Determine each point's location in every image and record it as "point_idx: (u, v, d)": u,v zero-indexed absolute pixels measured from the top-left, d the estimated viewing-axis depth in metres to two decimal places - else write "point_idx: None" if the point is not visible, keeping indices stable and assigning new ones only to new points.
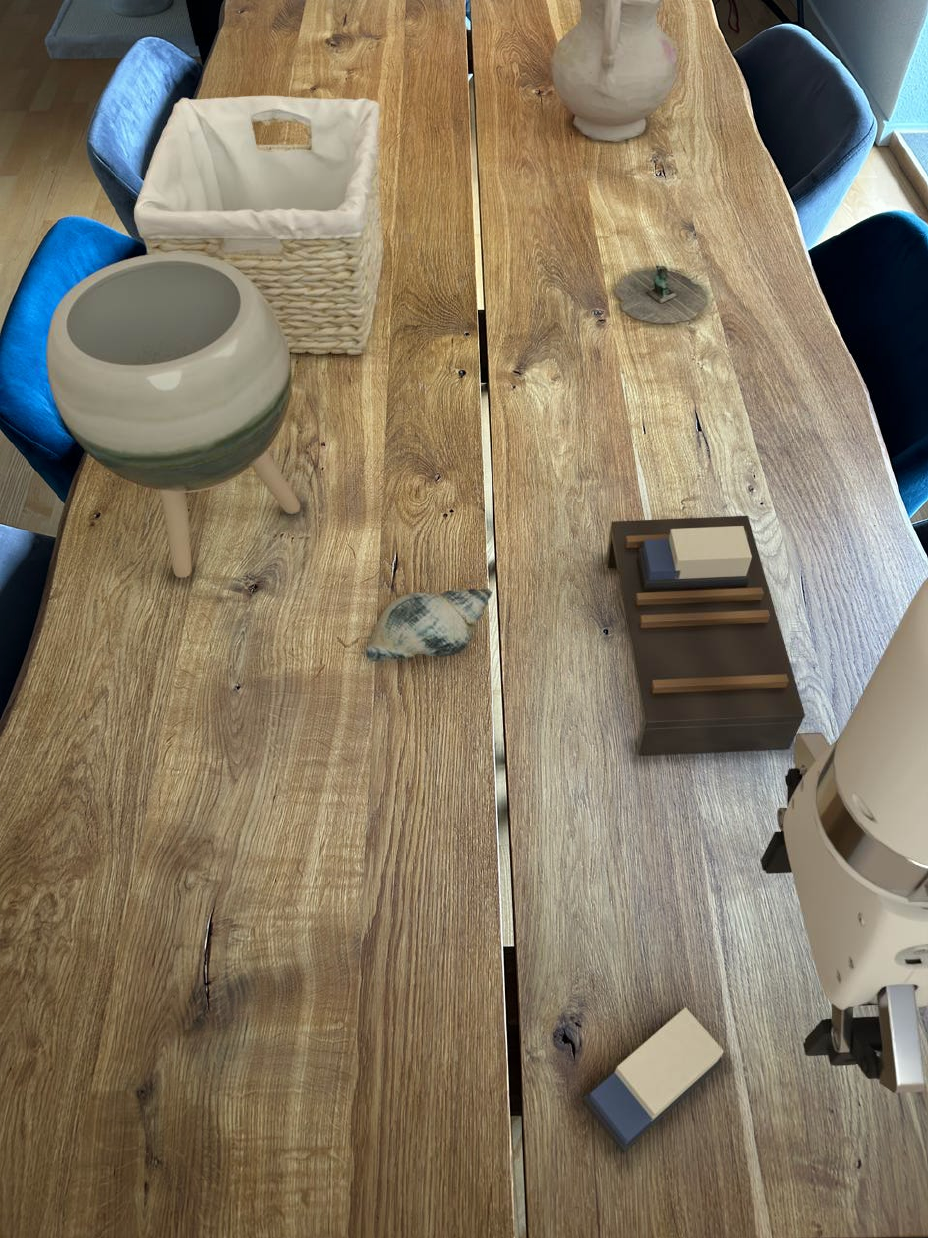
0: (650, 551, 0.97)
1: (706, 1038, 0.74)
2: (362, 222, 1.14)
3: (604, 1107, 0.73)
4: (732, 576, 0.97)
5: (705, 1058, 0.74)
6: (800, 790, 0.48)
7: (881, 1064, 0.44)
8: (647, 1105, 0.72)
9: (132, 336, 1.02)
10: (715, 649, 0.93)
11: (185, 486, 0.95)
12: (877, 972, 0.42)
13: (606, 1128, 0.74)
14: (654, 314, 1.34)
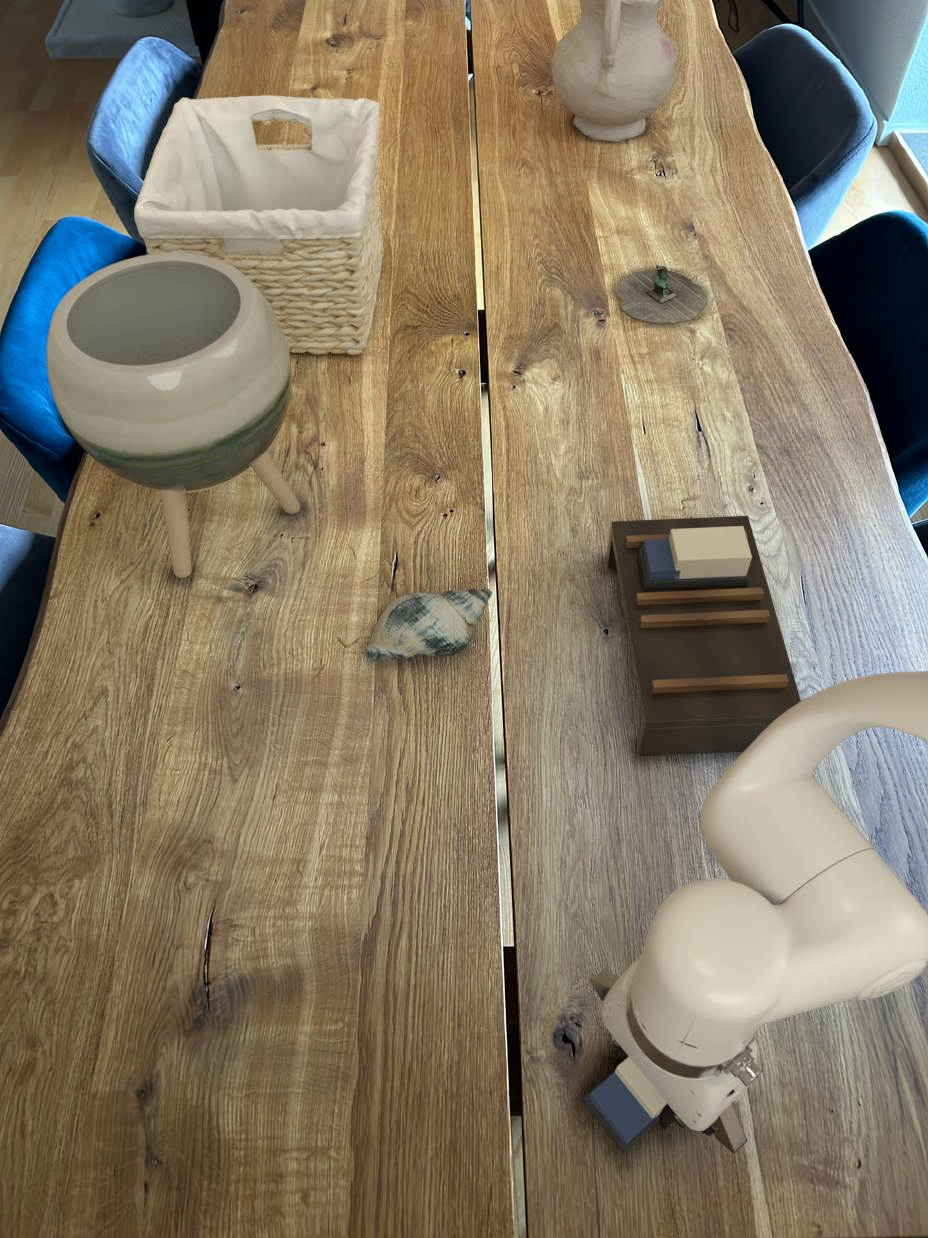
0: (650, 551, 0.97)
1: None
2: (362, 222, 1.14)
3: (604, 1107, 0.73)
4: (732, 576, 0.97)
5: None
6: (608, 1009, 0.68)
7: (717, 1134, 0.68)
8: (647, 1105, 0.72)
9: (132, 336, 1.02)
10: (715, 649, 0.93)
11: (185, 486, 0.95)
12: (715, 1112, 0.63)
13: (606, 1128, 0.74)
14: (654, 314, 1.34)
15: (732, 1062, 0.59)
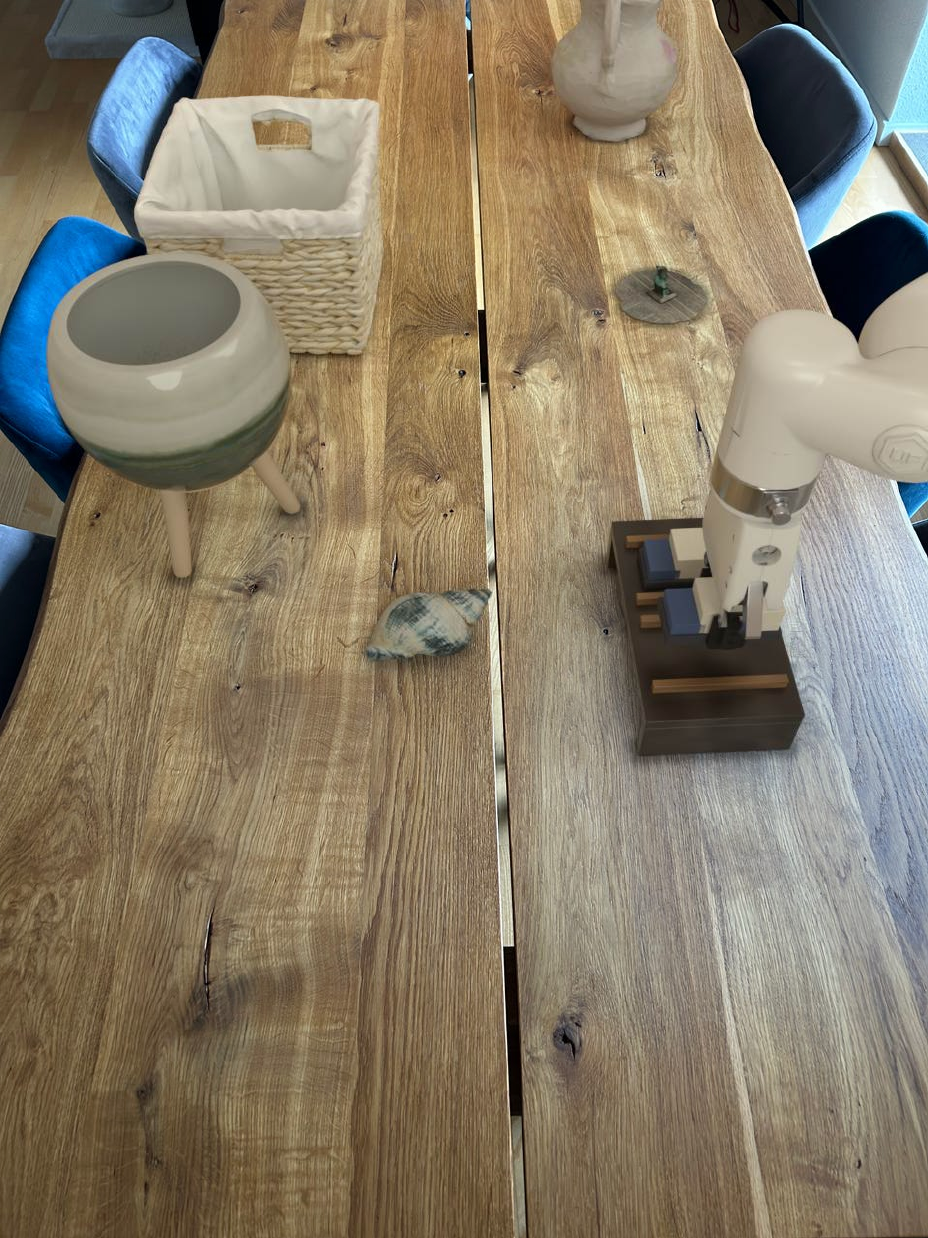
0: (650, 551, 0.97)
1: None
2: (362, 222, 1.14)
3: (669, 600, 0.88)
4: None
5: None
6: (709, 495, 0.82)
7: (740, 624, 0.80)
8: (701, 607, 0.85)
9: (132, 336, 1.02)
10: (715, 649, 0.93)
11: (185, 486, 0.95)
12: (744, 571, 0.76)
13: (663, 621, 0.88)
14: (654, 314, 1.34)
15: (771, 497, 0.71)
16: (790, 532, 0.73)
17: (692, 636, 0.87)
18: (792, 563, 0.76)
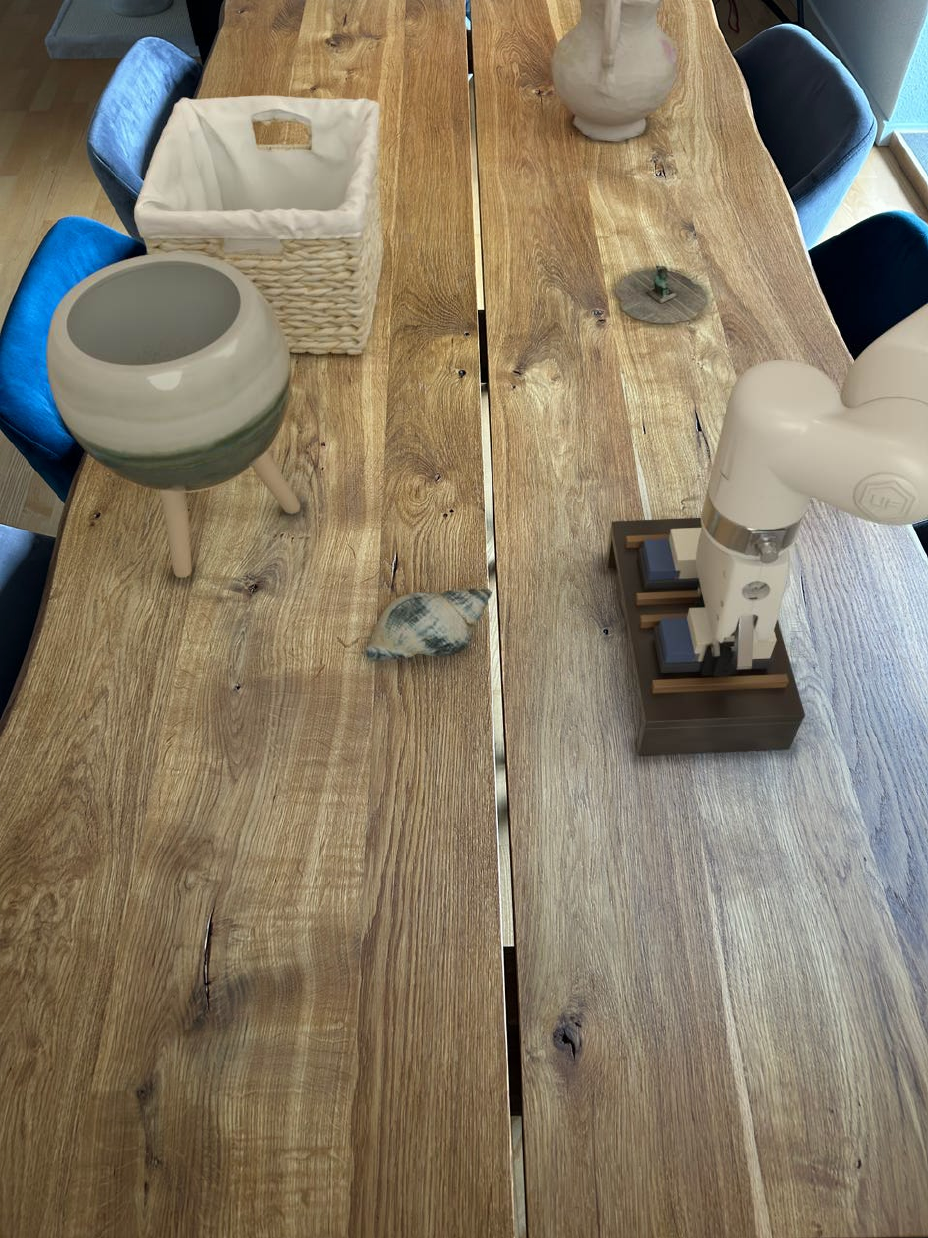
0: (650, 551, 0.97)
1: None
2: (362, 222, 1.14)
3: (664, 630, 0.91)
4: None
5: None
6: (702, 529, 0.86)
7: (732, 655, 0.83)
8: (695, 637, 0.89)
9: (132, 336, 1.02)
10: None
11: (185, 486, 0.95)
12: (734, 605, 0.79)
13: (658, 649, 0.92)
14: (654, 314, 1.34)
15: (759, 536, 0.75)
16: (778, 569, 0.77)
17: (687, 664, 0.90)
18: (781, 597, 0.79)
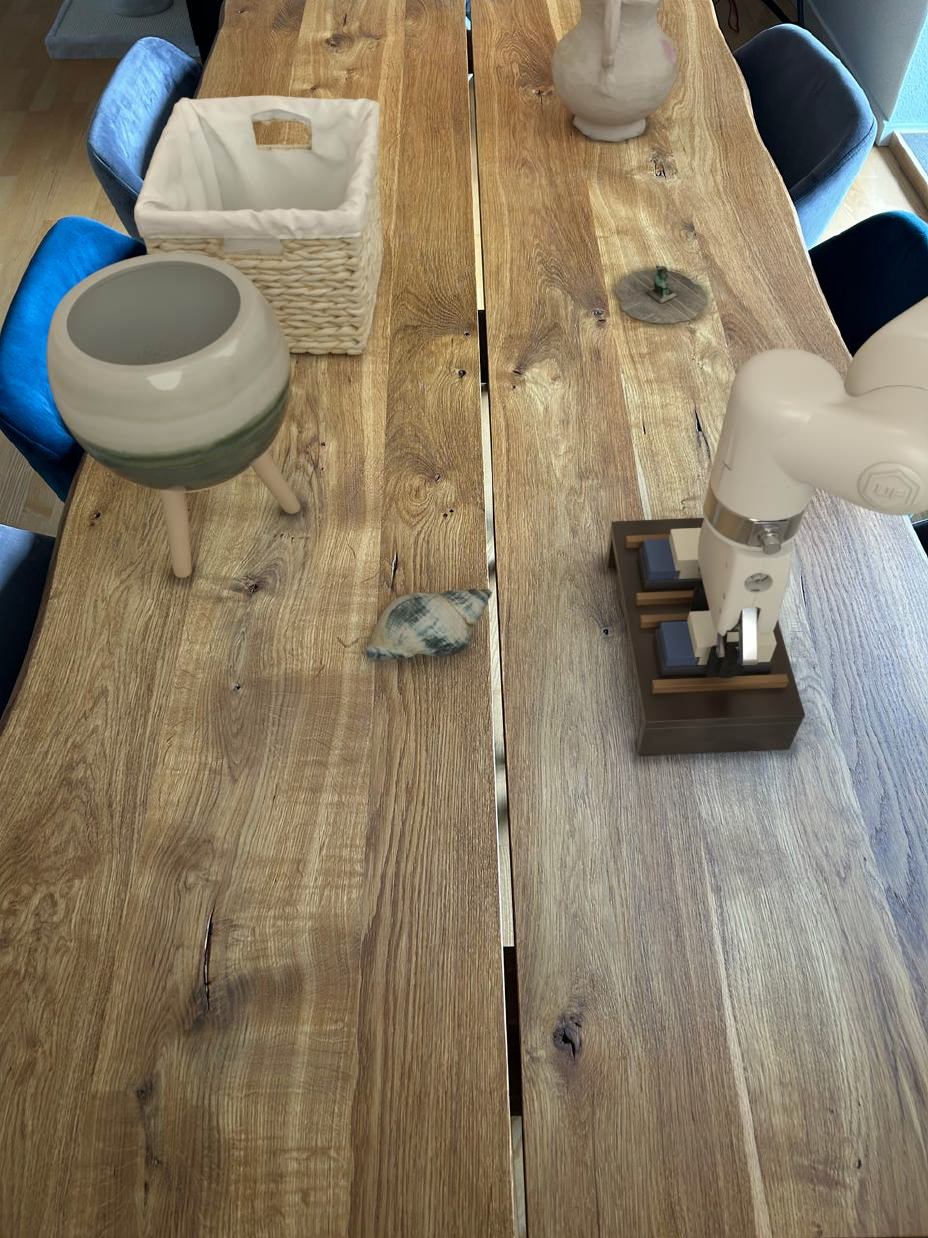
0: (650, 551, 0.97)
1: None
2: (362, 222, 1.14)
3: (665, 633, 0.91)
4: None
5: (758, 639, 0.89)
6: (703, 522, 0.85)
7: (737, 652, 0.82)
8: (696, 640, 0.89)
9: (132, 336, 1.02)
10: None
11: (185, 486, 0.95)
12: (737, 597, 0.79)
13: (659, 653, 0.92)
14: (654, 314, 1.34)
15: (762, 527, 0.74)
16: (781, 560, 0.76)
17: (687, 668, 0.91)
18: (783, 589, 0.78)
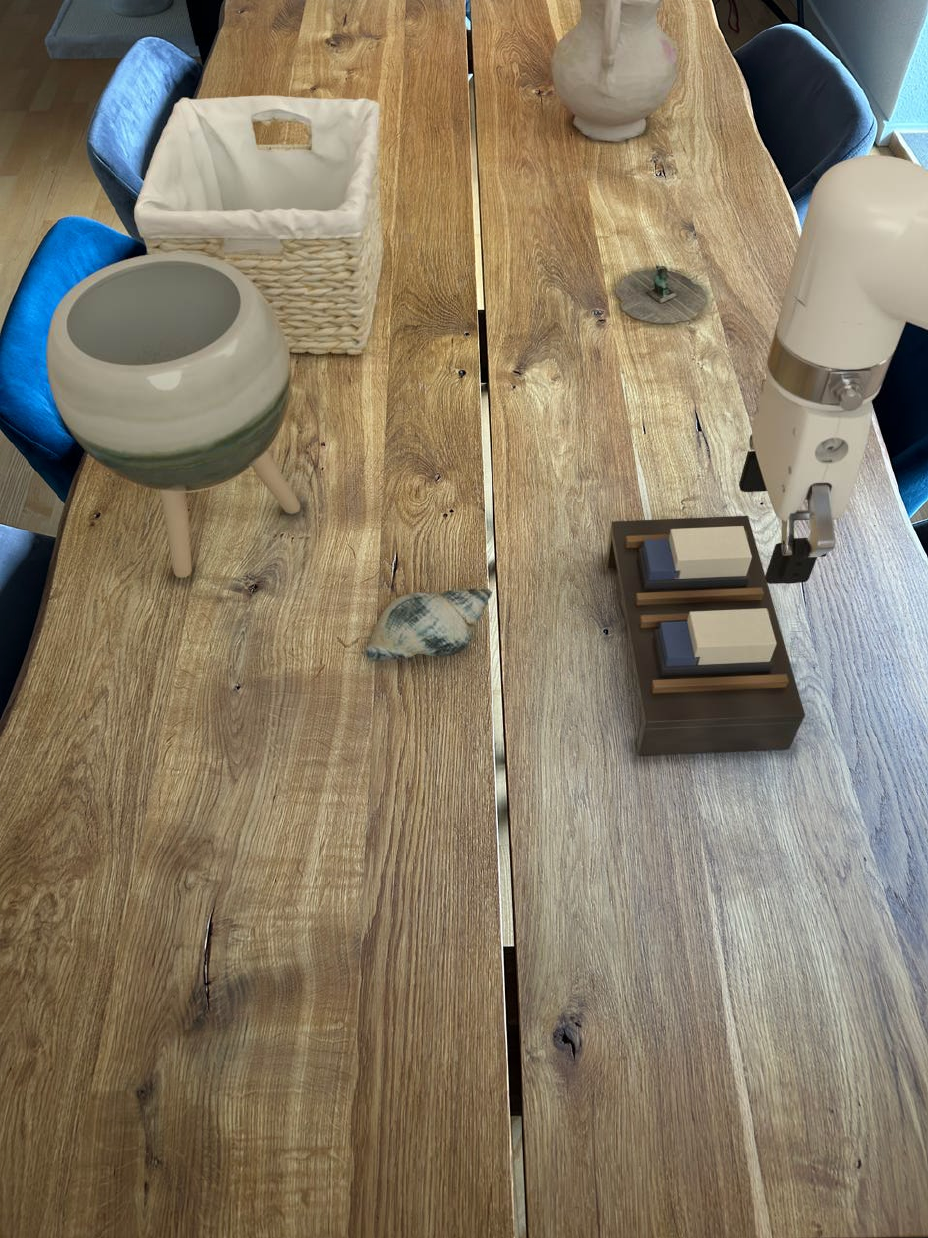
0: (650, 551, 0.97)
1: (768, 630, 0.89)
2: (362, 222, 1.14)
3: (665, 633, 0.91)
4: (732, 576, 0.97)
5: (758, 639, 0.89)
6: (761, 394, 0.74)
7: (809, 540, 0.70)
8: (696, 640, 0.89)
9: (132, 336, 1.02)
10: None
11: (185, 486, 0.95)
12: (805, 470, 0.68)
13: (659, 653, 0.92)
14: (654, 314, 1.34)
15: (840, 378, 0.63)
16: (859, 422, 0.65)
17: (687, 668, 0.91)
18: (860, 460, 0.68)
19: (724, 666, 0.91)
